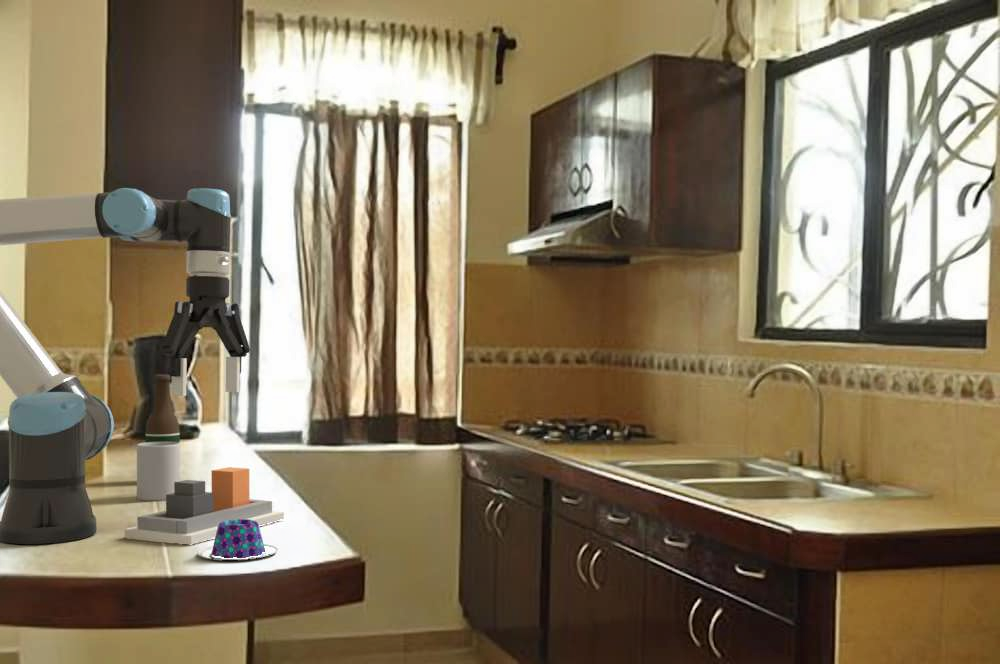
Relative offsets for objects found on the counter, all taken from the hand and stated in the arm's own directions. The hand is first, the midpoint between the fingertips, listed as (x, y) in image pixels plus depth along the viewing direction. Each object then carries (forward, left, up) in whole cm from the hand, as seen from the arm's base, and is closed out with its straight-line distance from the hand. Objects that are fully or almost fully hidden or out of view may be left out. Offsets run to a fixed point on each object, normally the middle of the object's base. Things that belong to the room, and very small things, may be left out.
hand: (206, 394), depth 194 cm
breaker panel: (-7, -6, -23) cm, 25 cm away
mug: (+17, +27, -23) cm, 39 cm away
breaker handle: (-12, -6, -21) cm, 25 cm away
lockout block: (-1, -6, -21) cm, 22 cm away
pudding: (-21, -24, -23) cm, 40 cm away
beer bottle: (+33, +41, -23) cm, 57 cm away
